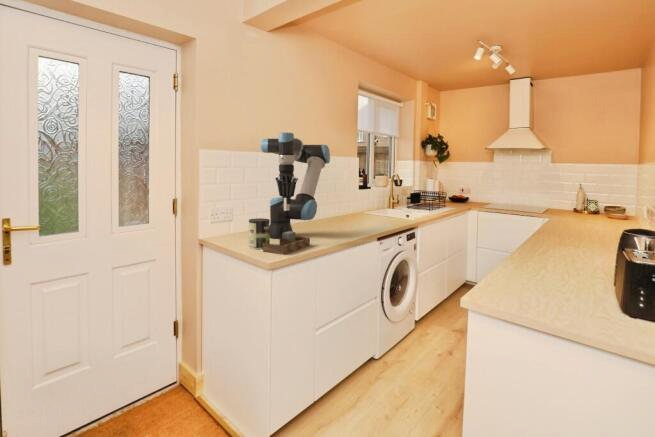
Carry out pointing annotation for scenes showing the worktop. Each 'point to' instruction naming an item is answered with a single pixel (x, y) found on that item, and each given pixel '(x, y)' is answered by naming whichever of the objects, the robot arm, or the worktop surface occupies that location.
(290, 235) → the grey block
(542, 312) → the worktop surface
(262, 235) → the coffee can
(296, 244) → the comb rack
